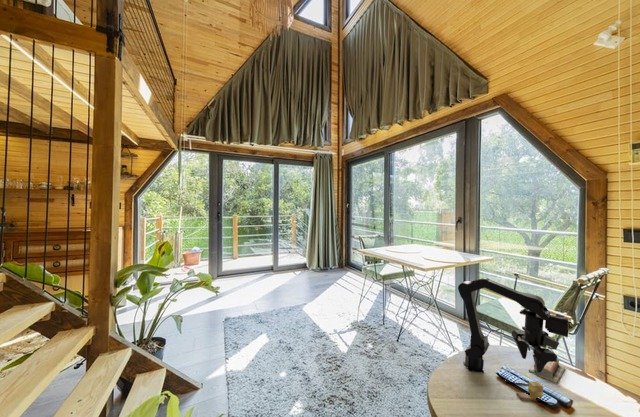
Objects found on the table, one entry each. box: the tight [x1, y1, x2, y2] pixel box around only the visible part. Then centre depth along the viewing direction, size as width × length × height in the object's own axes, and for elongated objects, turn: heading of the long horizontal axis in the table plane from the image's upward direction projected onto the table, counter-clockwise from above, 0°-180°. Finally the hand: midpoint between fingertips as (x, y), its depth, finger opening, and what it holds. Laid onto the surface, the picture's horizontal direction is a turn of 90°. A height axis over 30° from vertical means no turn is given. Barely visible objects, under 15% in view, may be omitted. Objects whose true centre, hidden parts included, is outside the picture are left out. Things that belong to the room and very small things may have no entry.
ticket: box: [504, 372, 533, 382], centre depth 115 cm, size 12×7×1 cm, turn 84°
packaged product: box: [528, 358, 566, 383], centre depth 122 cm, size 18×5×10 cm
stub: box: [515, 381, 544, 401], centre depth 103 cm, size 12×3×6 cm, turn 84°
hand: (531, 365), depth 107 cm, fingers open, 9 cm apart
